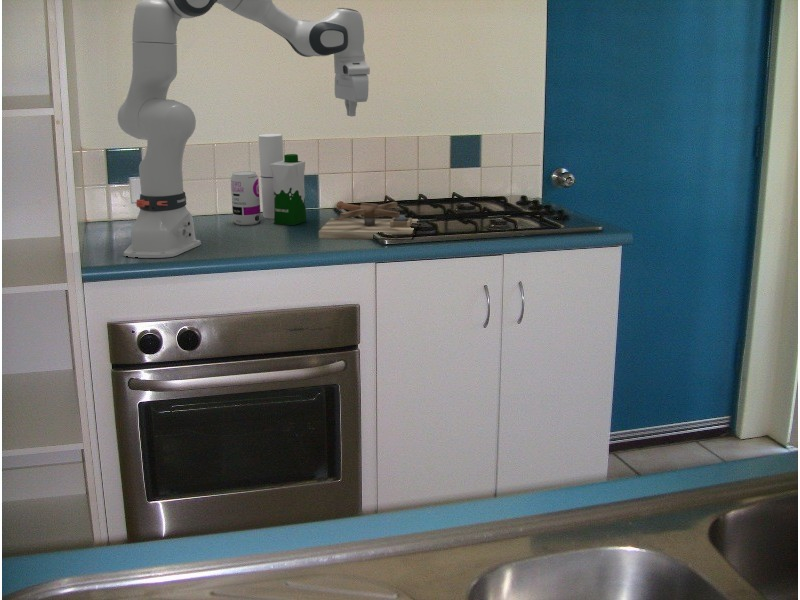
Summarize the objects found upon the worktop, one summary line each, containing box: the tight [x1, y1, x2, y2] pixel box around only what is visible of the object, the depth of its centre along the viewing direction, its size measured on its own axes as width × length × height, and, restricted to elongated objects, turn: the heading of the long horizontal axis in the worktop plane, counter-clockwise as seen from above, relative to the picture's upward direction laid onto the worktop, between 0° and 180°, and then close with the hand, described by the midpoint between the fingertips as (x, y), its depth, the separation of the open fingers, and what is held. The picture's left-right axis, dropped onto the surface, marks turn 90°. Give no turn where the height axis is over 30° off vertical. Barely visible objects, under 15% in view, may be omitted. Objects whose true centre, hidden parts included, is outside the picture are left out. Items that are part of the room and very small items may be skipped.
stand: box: [318, 217, 419, 240], centre depth 261 cm, size 18×26×4 cm
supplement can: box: [230, 170, 262, 226], centre depth 274 cm, size 8×8×15 cm
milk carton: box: [270, 153, 307, 226], centre depth 273 cm, size 9×9×20 cm
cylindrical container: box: [258, 133, 284, 220], centre depth 282 cm, size 7×7×25 cm
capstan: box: [336, 200, 401, 219], centre depth 260 cm, size 22×24×3 cm
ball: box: [396, 214, 407, 221], centre depth 260 cm, size 3×3×3 cm
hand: (351, 116), depth 268 cm, fingers closed
